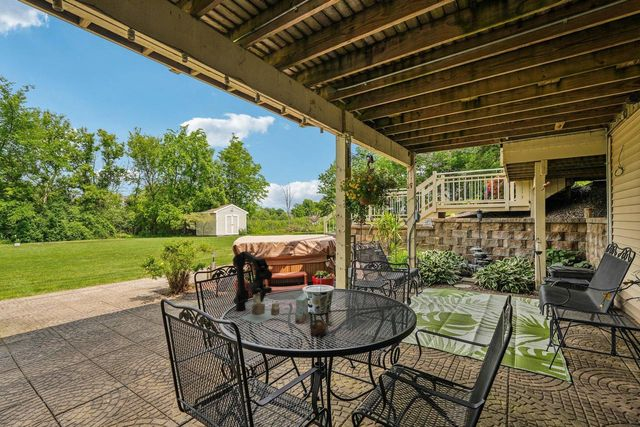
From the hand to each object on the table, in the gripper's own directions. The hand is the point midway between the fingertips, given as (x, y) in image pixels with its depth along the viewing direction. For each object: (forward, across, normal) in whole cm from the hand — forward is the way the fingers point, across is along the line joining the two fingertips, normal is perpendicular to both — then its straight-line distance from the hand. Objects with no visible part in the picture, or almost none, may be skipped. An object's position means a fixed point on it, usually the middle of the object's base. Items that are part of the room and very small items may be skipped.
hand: (258, 301), depth 193 cm
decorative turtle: (+11, +47, +3) cm, 48 cm away
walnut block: (+11, -5, +5) cm, 13 cm away
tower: (+10, +6, +10) cm, 16 cm away
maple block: (+1, 0, 0) cm, 1 cm away
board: (+12, 0, +2) cm, 12 cm away
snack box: (+11, +24, +19) cm, 32 cm away
